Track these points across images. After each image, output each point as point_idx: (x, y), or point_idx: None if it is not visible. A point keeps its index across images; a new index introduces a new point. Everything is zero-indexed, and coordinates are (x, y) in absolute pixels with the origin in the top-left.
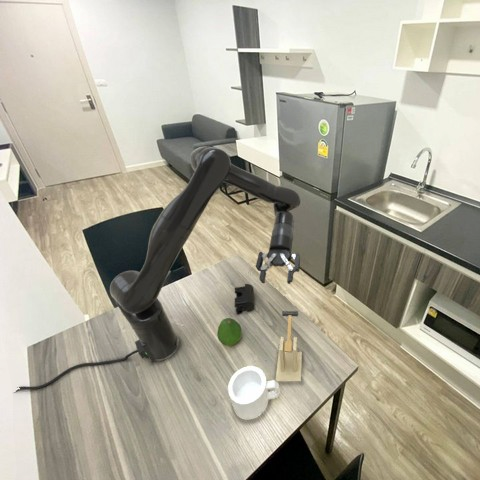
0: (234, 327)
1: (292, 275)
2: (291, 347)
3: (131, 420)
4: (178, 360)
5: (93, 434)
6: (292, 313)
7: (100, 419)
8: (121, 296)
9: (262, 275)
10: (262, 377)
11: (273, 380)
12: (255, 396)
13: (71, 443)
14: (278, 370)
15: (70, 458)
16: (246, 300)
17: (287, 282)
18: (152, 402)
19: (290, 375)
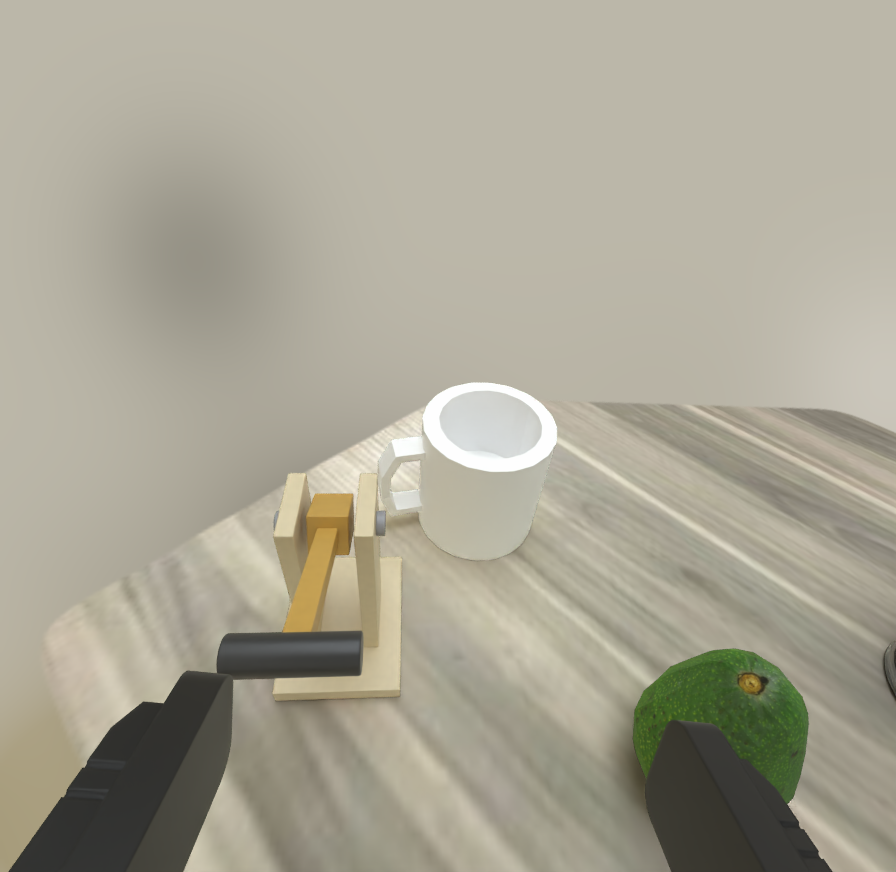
0: (692, 690)
1: (45, 838)
2: (313, 500)
3: (779, 476)
4: (836, 645)
5: (832, 455)
6: (271, 634)
7: (857, 479)
8: None
9: (760, 821)
10: (440, 438)
11: (399, 455)
12: (450, 395)
13: (856, 443)
14: (392, 595)
15: (823, 425)
16: None
17: (230, 686)
18: (772, 511)
19: (340, 576)
